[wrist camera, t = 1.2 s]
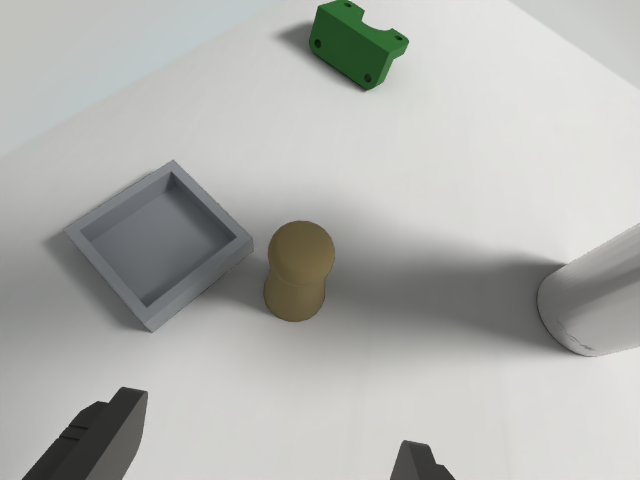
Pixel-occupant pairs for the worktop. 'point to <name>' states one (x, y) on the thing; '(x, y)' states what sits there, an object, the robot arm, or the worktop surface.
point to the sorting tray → (161, 243)
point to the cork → (298, 270)
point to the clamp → (354, 43)
